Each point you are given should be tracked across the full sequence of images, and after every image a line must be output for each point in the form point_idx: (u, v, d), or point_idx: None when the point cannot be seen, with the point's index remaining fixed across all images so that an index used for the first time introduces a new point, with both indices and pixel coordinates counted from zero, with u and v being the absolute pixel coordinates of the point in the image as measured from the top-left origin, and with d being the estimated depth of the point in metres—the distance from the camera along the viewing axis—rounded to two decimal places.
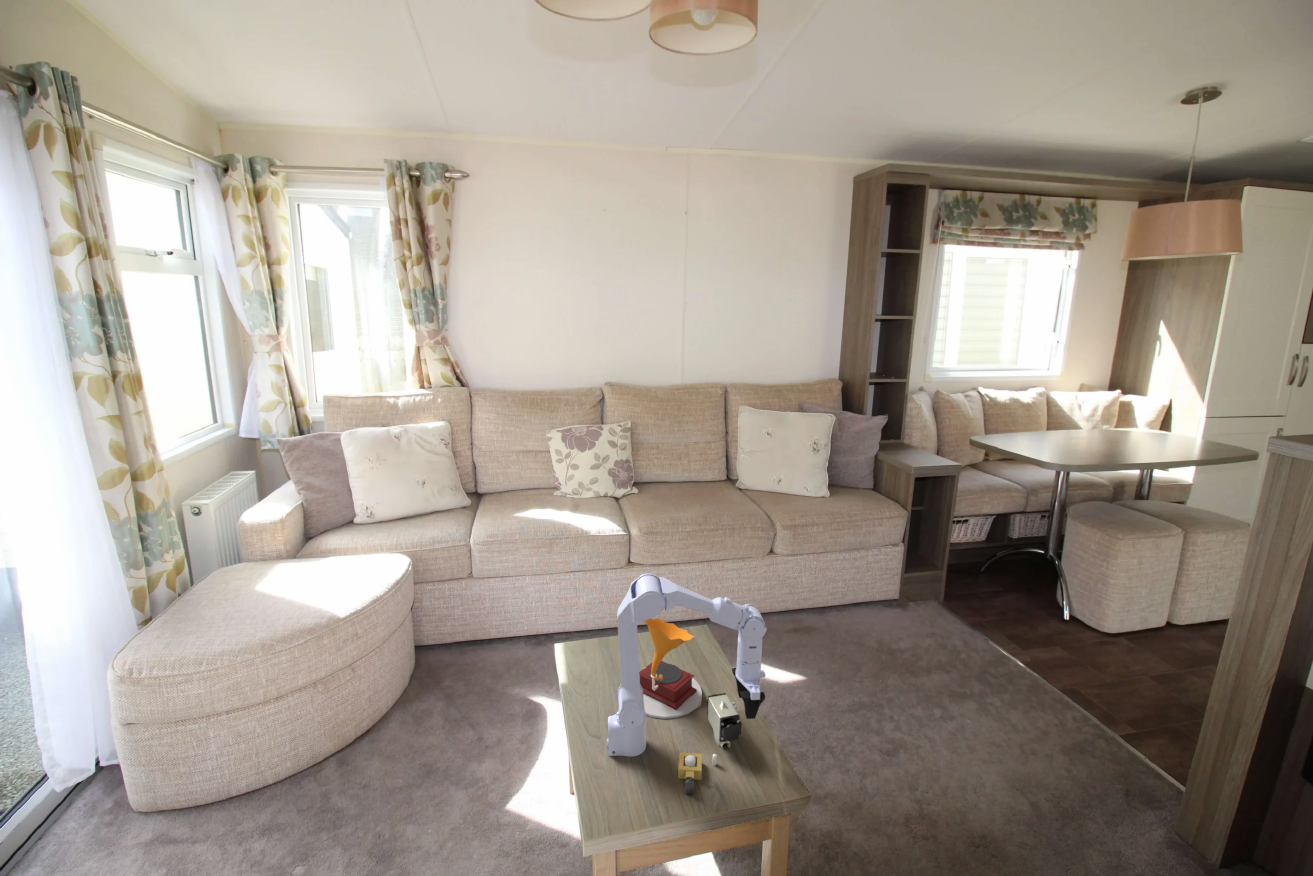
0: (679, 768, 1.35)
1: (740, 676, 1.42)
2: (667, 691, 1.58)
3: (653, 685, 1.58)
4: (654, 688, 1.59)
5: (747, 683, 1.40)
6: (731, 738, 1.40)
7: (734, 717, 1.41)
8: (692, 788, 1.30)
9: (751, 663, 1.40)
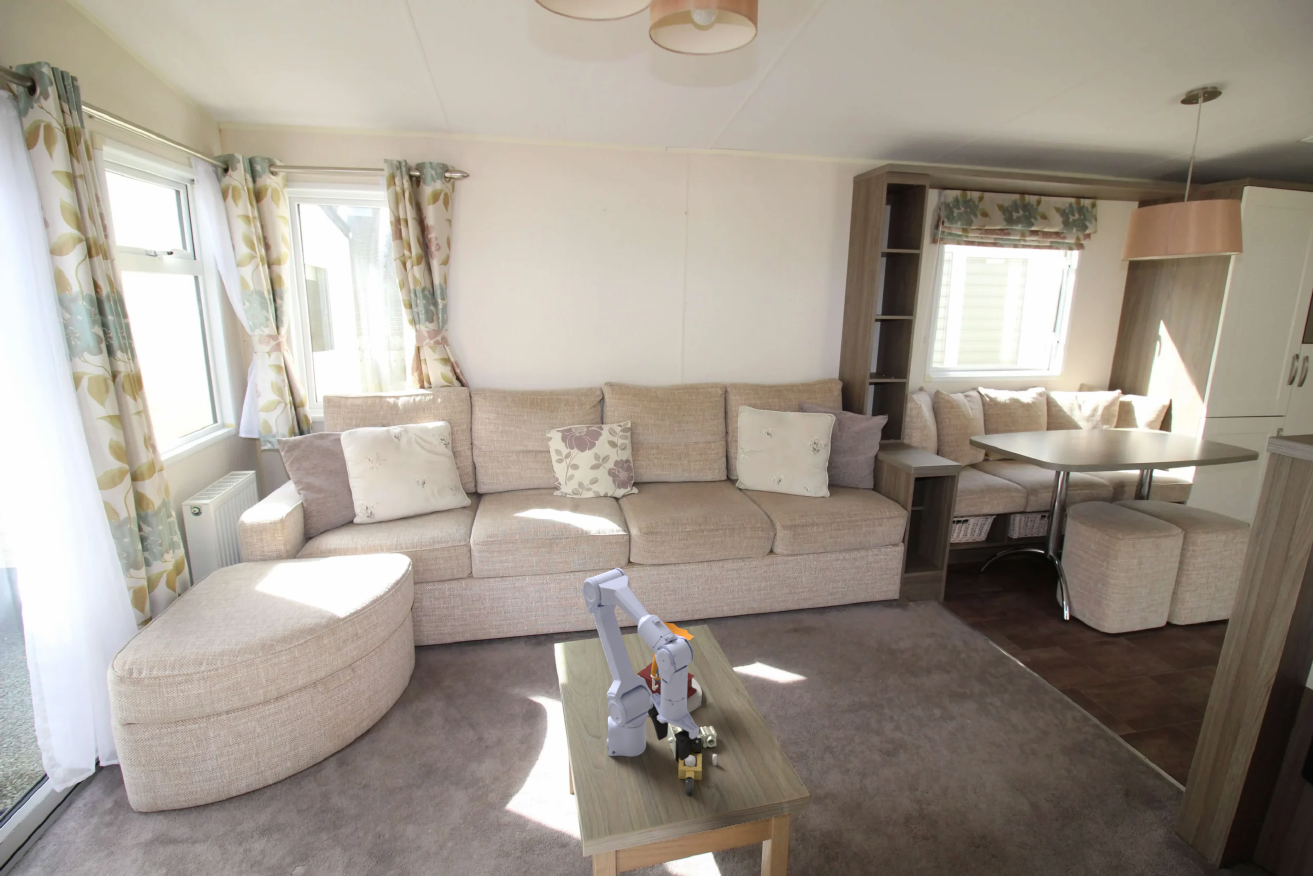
0: (679, 768, 1.35)
1: None
2: None
3: (653, 685, 1.58)
4: (654, 688, 1.59)
5: None
6: None
7: (676, 746, 1.40)
8: (692, 788, 1.30)
9: None
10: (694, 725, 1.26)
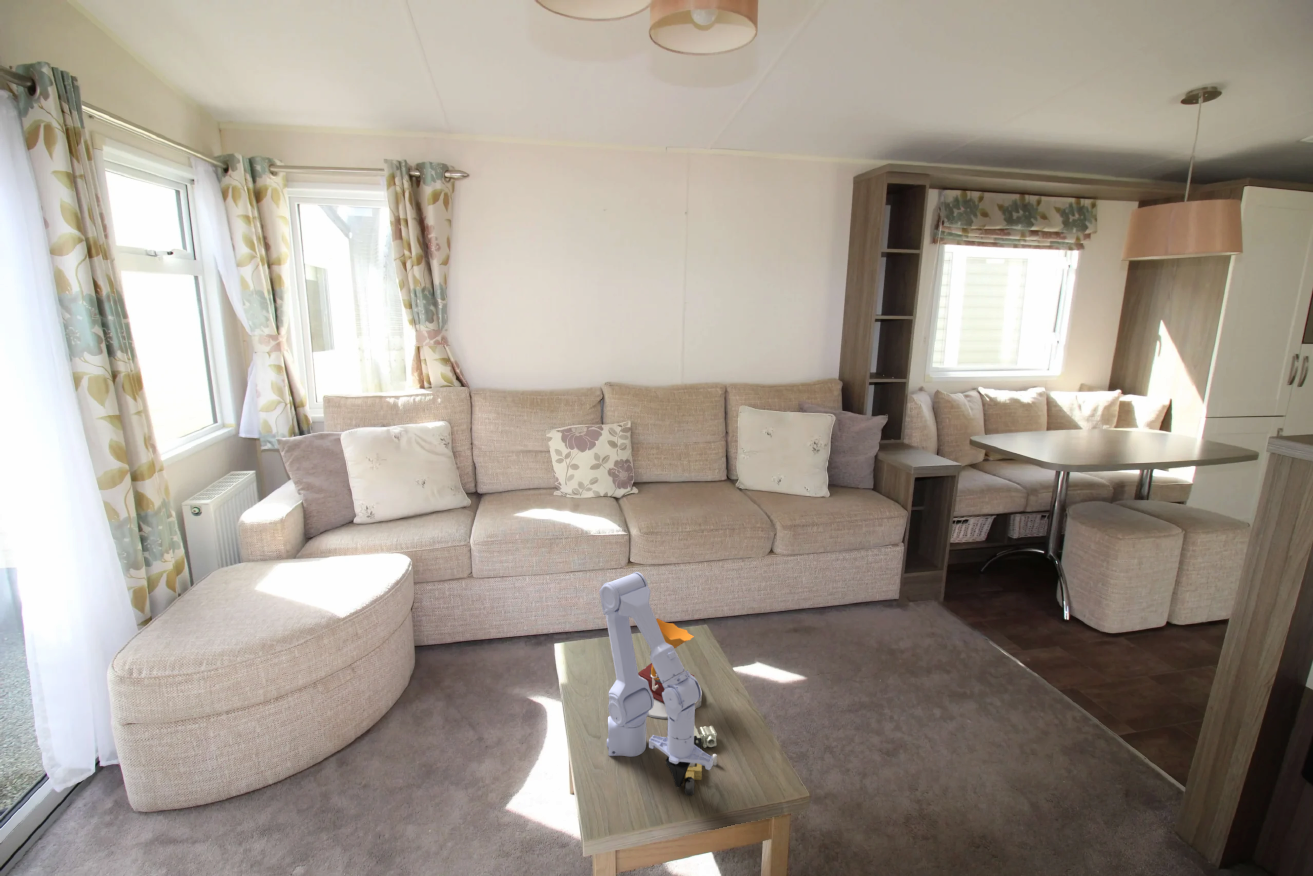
0: None
1: None
2: None
3: (653, 685, 1.58)
4: (654, 688, 1.59)
5: None
6: None
7: None
8: (692, 788, 1.30)
9: None
10: (707, 756, 1.29)
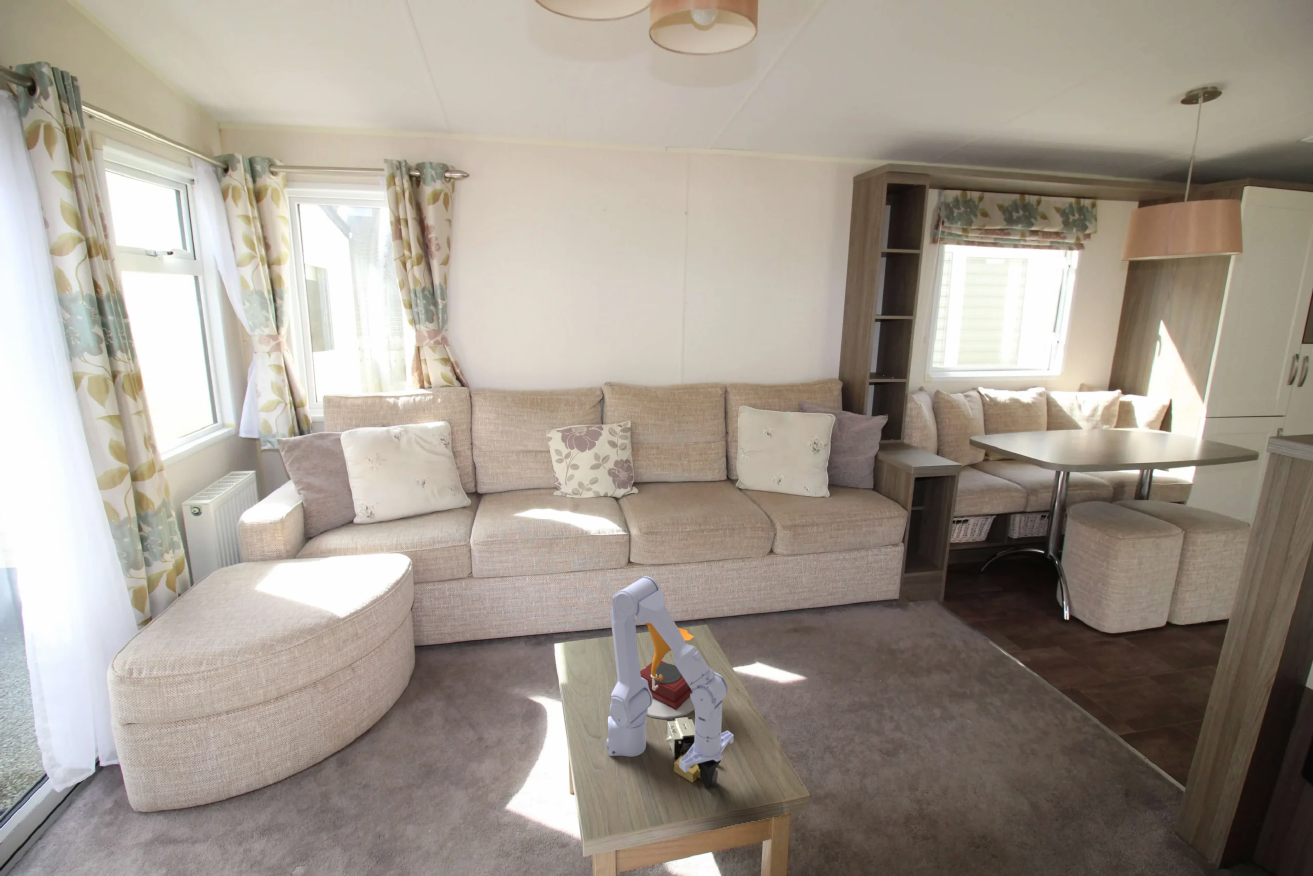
0: (692, 772, 1.34)
1: None
2: (667, 691, 1.58)
3: (653, 685, 1.58)
4: (654, 688, 1.59)
5: (693, 752, 1.30)
6: None
7: (675, 745, 1.40)
8: None
9: (697, 734, 1.28)
10: (723, 734, 1.35)
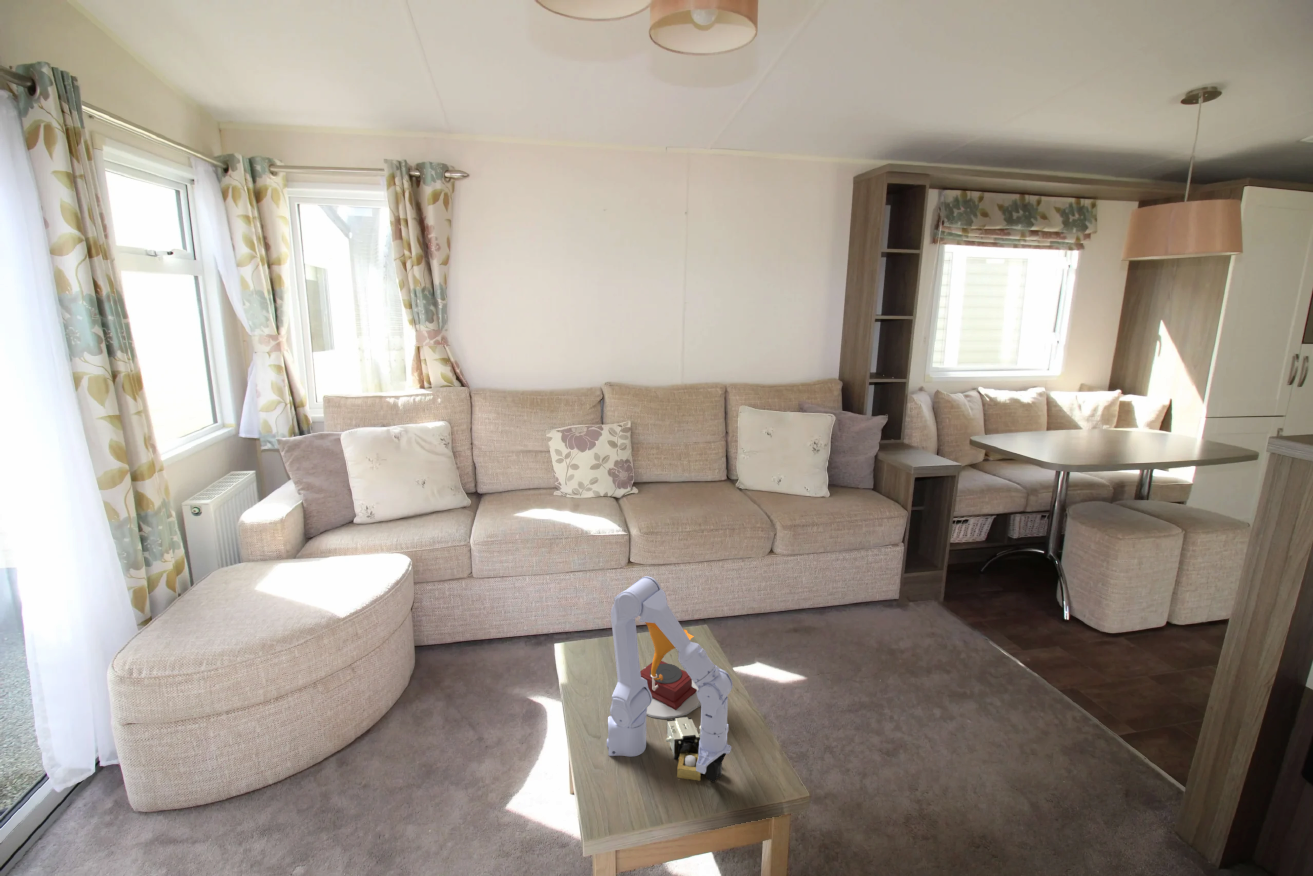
0: None
1: (700, 742, 1.32)
2: (667, 691, 1.58)
3: (653, 685, 1.58)
4: (654, 688, 1.59)
5: (703, 752, 1.30)
6: (694, 752, 1.40)
7: (675, 745, 1.40)
8: None
9: (708, 732, 1.29)
10: None
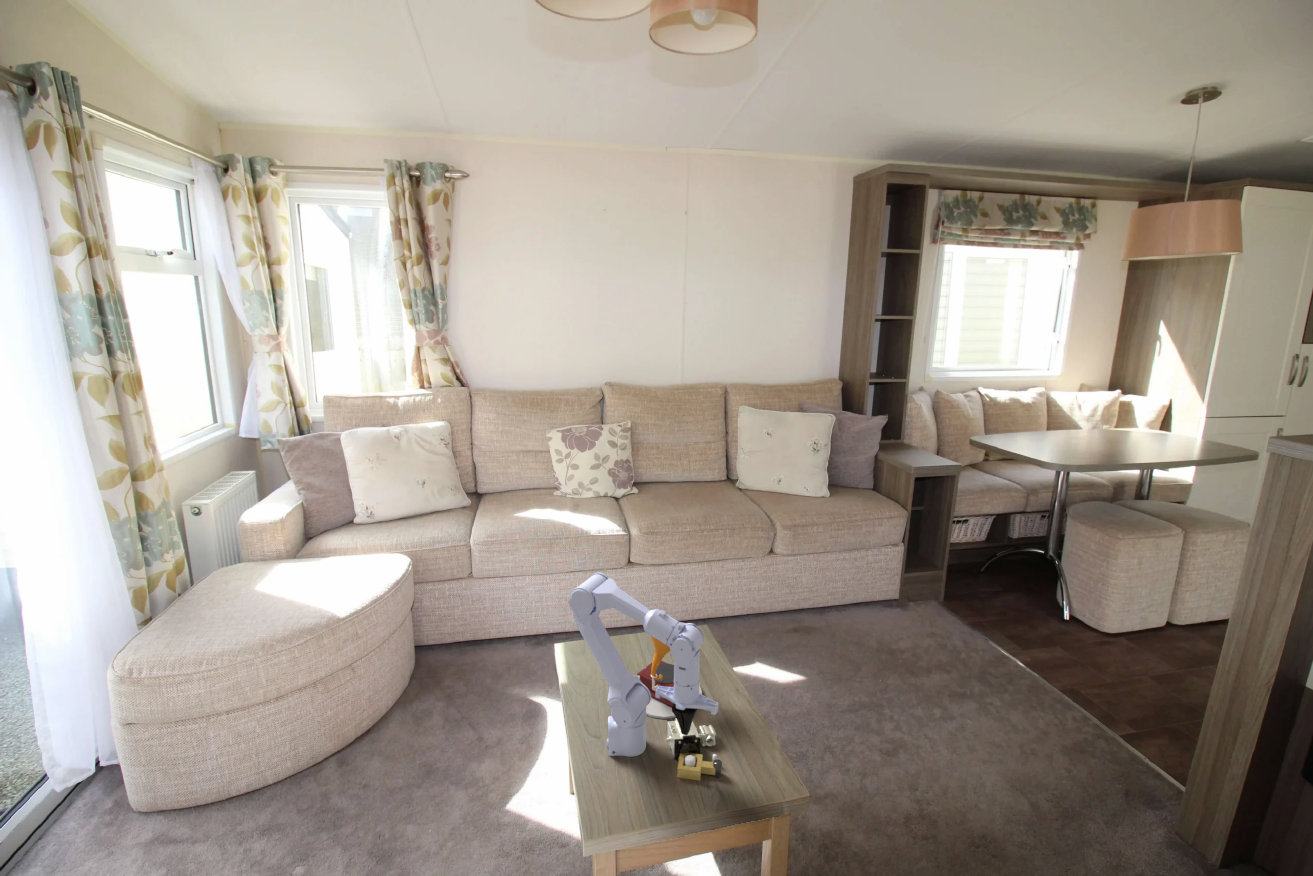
0: (699, 770, 1.34)
1: None
2: None
3: (653, 685, 1.58)
4: (654, 688, 1.59)
5: None
6: (694, 752, 1.40)
7: (675, 745, 1.40)
8: None
9: None
10: (712, 702, 1.34)
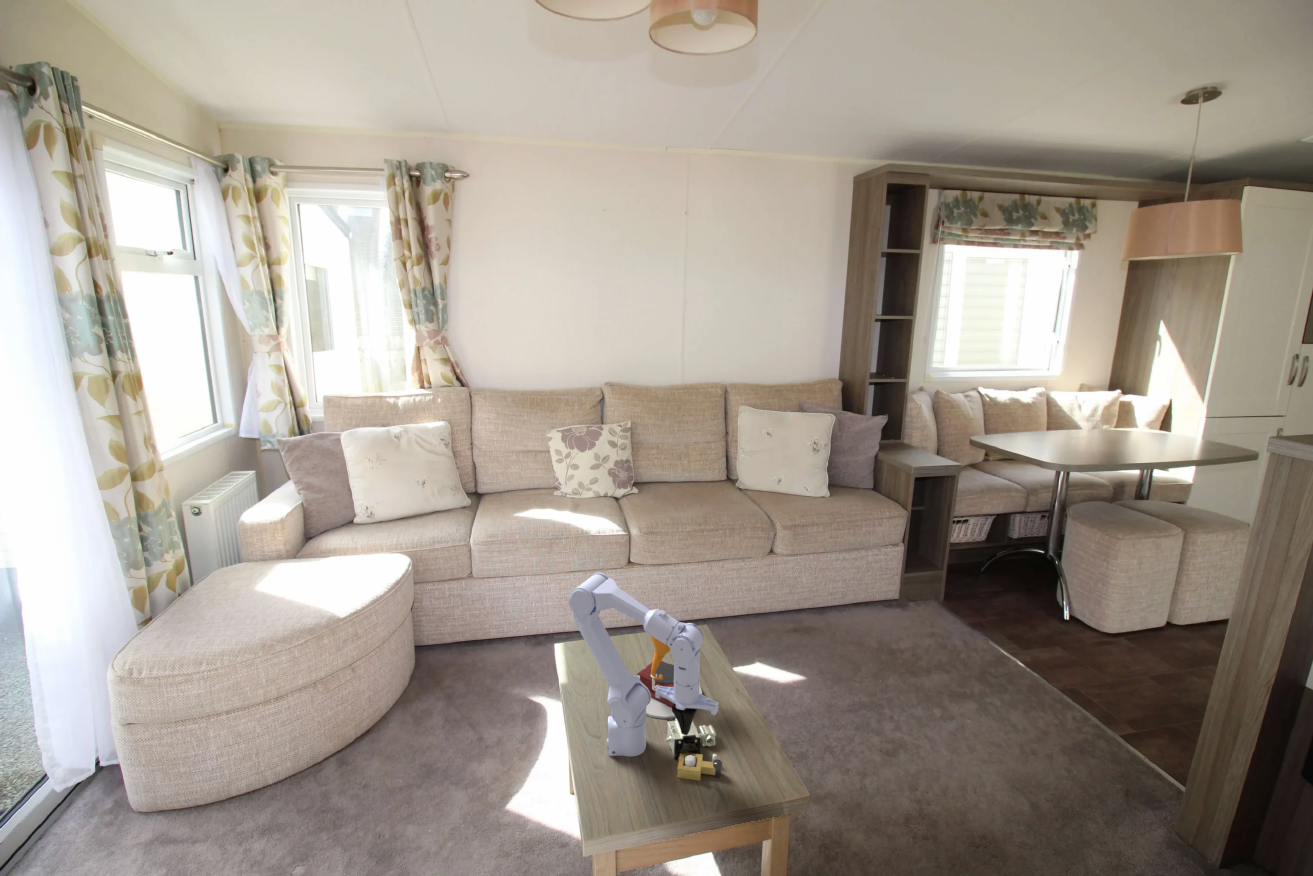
0: (699, 770, 1.34)
1: None
2: None
3: (653, 685, 1.58)
4: (654, 688, 1.59)
5: None
6: (694, 752, 1.40)
7: (675, 745, 1.40)
8: None
9: None
10: (712, 702, 1.34)
